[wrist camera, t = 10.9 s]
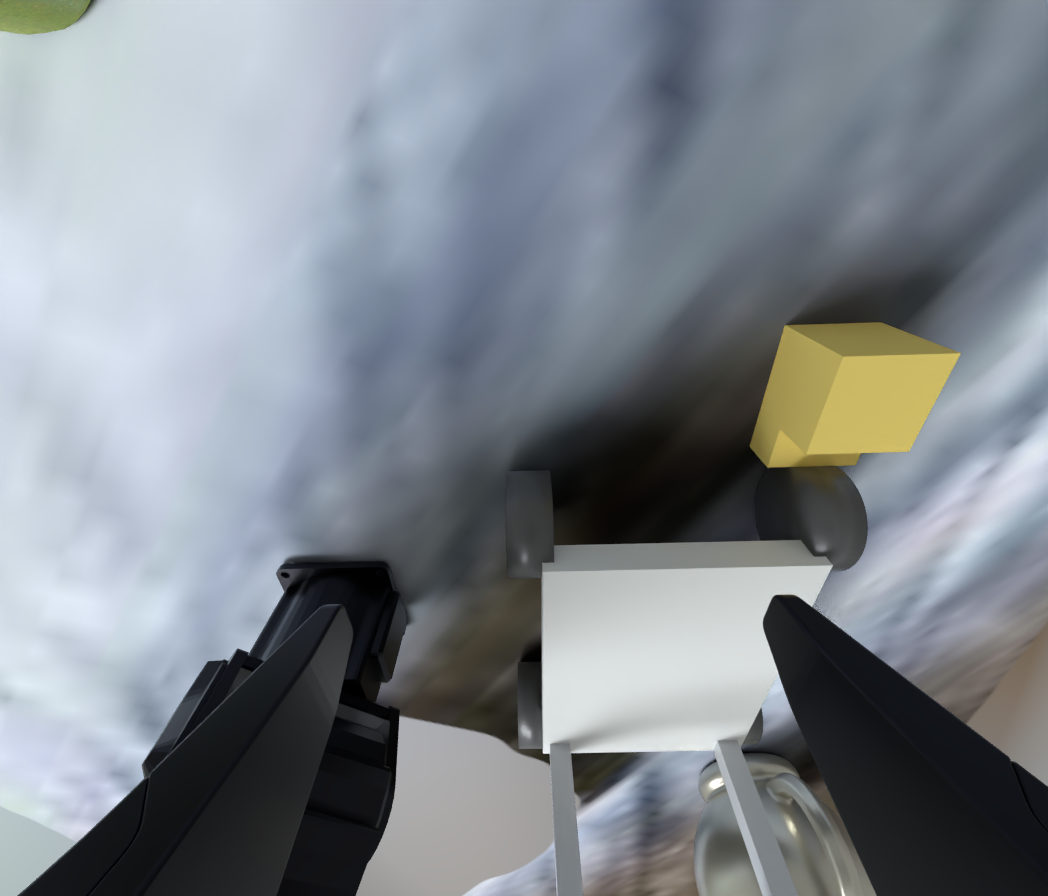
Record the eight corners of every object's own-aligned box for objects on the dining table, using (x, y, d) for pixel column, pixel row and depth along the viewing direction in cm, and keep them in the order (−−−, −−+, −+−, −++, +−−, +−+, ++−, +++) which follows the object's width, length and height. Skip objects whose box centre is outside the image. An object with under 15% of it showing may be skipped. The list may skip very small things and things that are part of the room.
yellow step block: (747, 444, 21) (790, 494, 18) (782, 324, 18) (843, 356, 15) (828, 442, 21) (887, 492, 18) (878, 321, 18) (960, 352, 15)
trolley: (719, 682, 32) (838, 981, 20) (520, 686, 32) (519, 985, 20) (812, 443, 21) (1201, 791, 9) (507, 451, 21) (490, 803, 9)
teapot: (791, 802, 44) (917, 1090, 30) (659, 804, 44) (723, 1093, 30) (860, 710, 34) (1092, 1069, 20) (691, 713, 34) (807, 1073, 20)
